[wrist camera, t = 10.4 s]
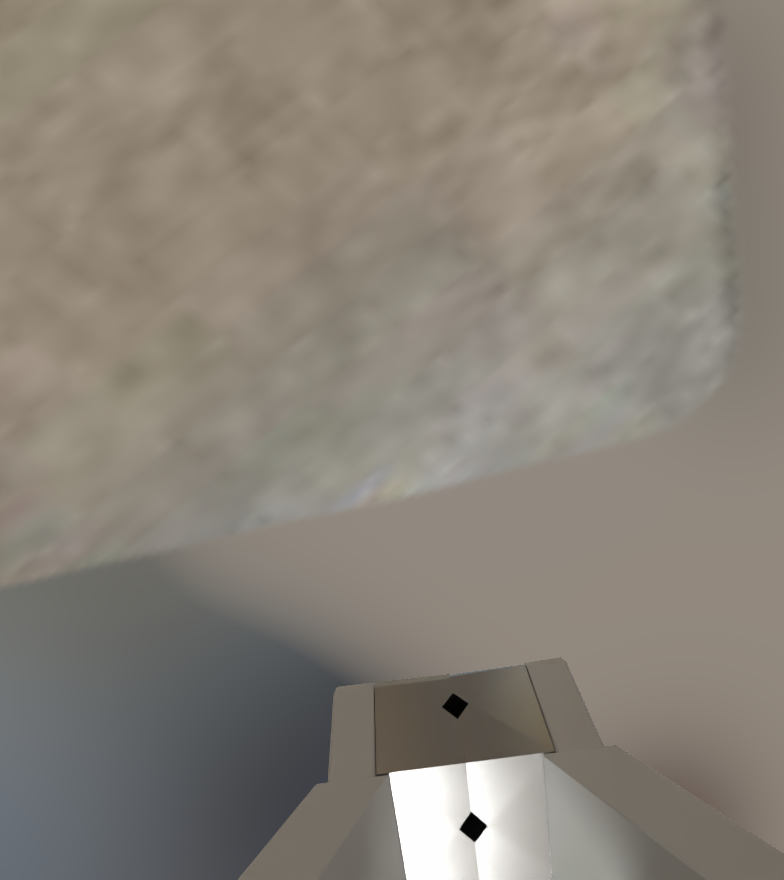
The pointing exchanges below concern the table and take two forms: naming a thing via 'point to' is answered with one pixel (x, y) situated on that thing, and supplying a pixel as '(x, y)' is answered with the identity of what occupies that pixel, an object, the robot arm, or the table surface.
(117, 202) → the table surface
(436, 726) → the robot arm
